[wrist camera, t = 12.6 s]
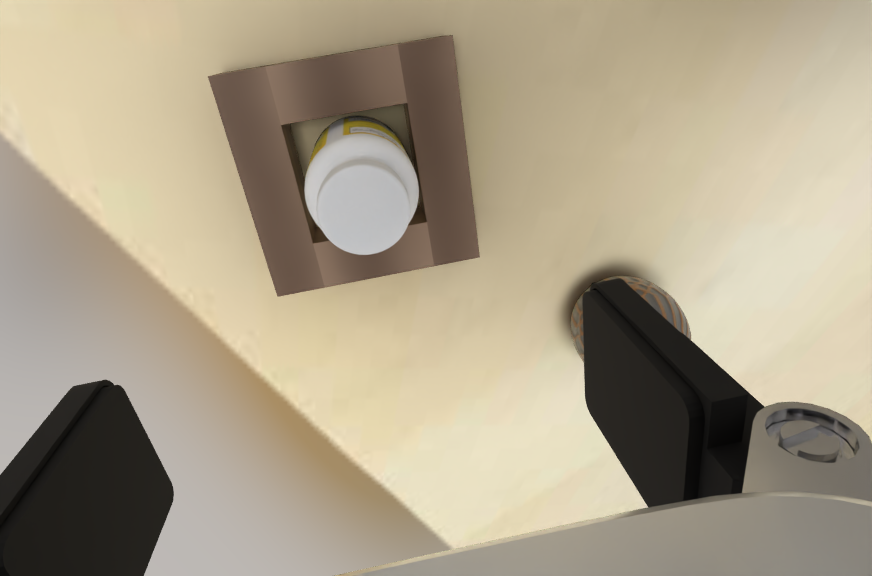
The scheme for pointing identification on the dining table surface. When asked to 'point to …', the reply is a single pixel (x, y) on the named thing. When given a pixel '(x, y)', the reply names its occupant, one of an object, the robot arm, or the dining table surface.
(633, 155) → the dining table surface
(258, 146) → the socket board
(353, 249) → the supplement bottle
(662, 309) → the vase
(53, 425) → the robot arm
